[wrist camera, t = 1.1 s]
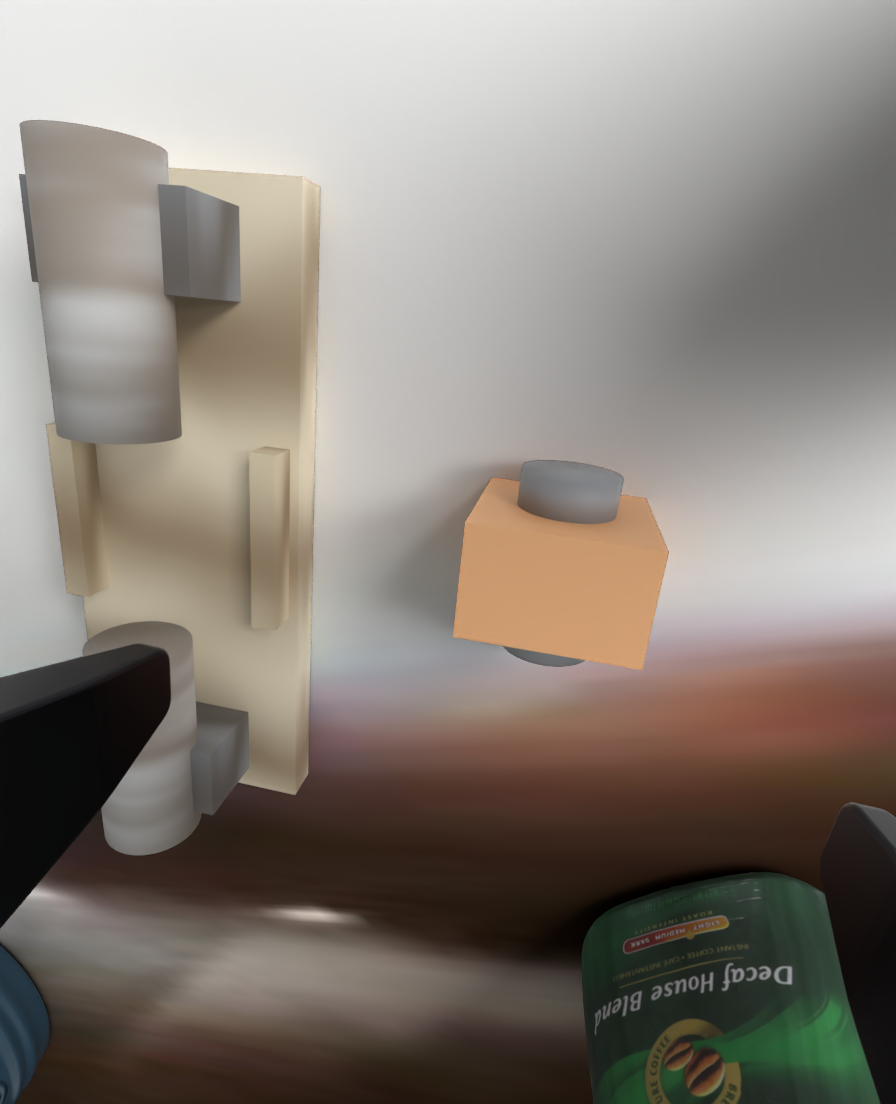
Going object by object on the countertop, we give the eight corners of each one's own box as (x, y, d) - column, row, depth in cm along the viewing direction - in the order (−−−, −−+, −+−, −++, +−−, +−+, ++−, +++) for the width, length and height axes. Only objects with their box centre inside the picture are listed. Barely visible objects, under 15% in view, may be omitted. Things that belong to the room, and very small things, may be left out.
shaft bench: (64, 169, 19) (-114, 111, 14) (320, 186, 17) (222, 129, 13) (121, 733, 26) (15, 826, 21) (308, 773, 24) (241, 882, 19)
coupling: (495, 444, 19) (469, 480, 14) (652, 464, 18) (678, 508, 14) (477, 596, 21) (448, 672, 16) (620, 619, 20) (633, 705, 15)
